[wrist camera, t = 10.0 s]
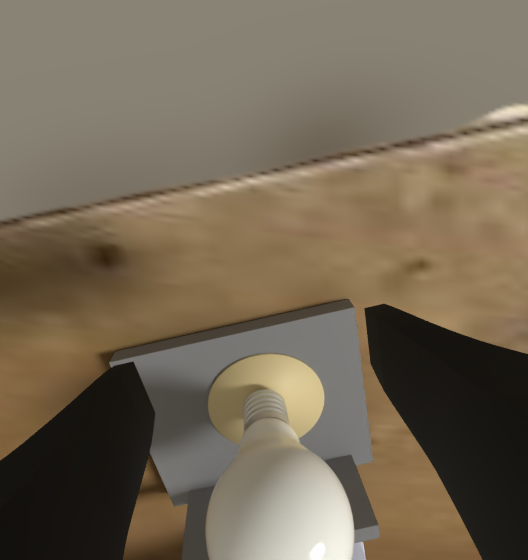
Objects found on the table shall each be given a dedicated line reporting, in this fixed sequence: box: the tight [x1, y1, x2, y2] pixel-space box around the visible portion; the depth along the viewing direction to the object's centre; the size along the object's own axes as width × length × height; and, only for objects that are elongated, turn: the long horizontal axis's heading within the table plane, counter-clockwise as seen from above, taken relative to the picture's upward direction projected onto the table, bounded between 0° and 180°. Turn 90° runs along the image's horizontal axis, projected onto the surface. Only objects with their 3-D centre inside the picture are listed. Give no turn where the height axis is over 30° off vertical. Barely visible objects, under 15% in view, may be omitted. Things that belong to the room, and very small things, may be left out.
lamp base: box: [109, 299, 380, 560], centre depth 21 cm, size 13×15×6 cm
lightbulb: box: [205, 389, 355, 560], centre depth 17 cm, size 6×6×11 cm
